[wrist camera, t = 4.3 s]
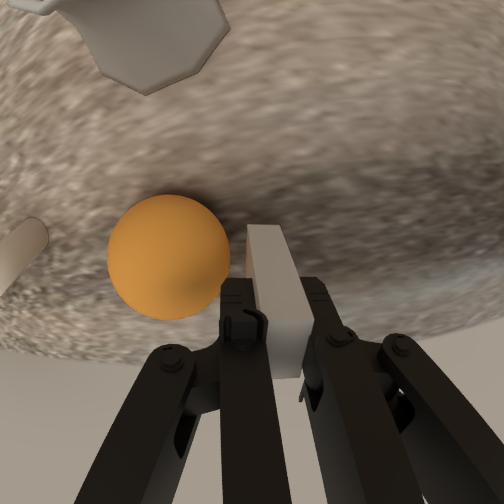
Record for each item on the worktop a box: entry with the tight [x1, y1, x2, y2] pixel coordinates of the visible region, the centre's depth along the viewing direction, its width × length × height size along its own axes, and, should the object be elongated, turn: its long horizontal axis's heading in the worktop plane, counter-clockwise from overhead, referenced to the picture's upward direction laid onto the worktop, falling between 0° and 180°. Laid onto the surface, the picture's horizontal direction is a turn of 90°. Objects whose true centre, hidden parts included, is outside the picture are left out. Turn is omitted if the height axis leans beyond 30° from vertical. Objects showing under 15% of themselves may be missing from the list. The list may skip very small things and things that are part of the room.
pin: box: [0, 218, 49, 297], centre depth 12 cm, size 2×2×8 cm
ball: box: [107, 194, 230, 320], centre depth 14 cm, size 6×6×6 cm
